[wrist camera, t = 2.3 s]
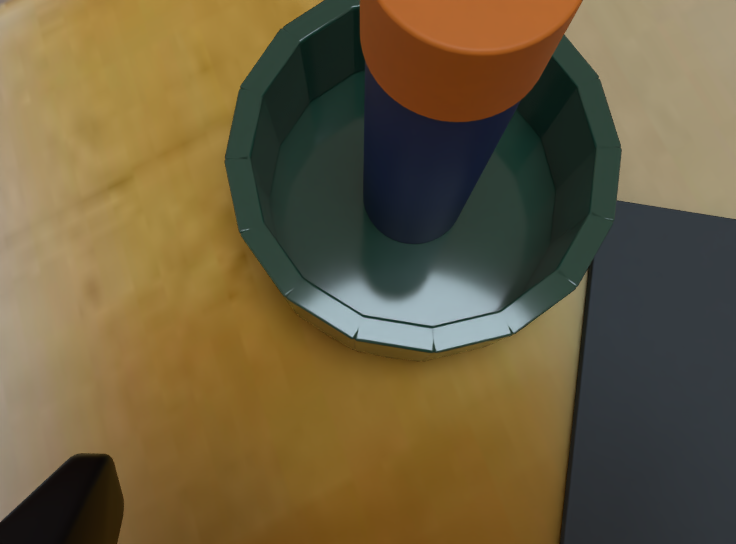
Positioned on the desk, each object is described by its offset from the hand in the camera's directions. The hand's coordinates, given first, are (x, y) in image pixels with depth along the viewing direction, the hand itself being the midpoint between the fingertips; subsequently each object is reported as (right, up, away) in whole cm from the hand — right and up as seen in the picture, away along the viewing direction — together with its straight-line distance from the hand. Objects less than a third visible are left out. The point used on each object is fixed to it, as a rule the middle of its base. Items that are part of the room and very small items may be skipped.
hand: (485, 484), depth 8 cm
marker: (0, +5, +14) cm, 15 cm away
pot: (0, +5, +14) cm, 15 cm away
